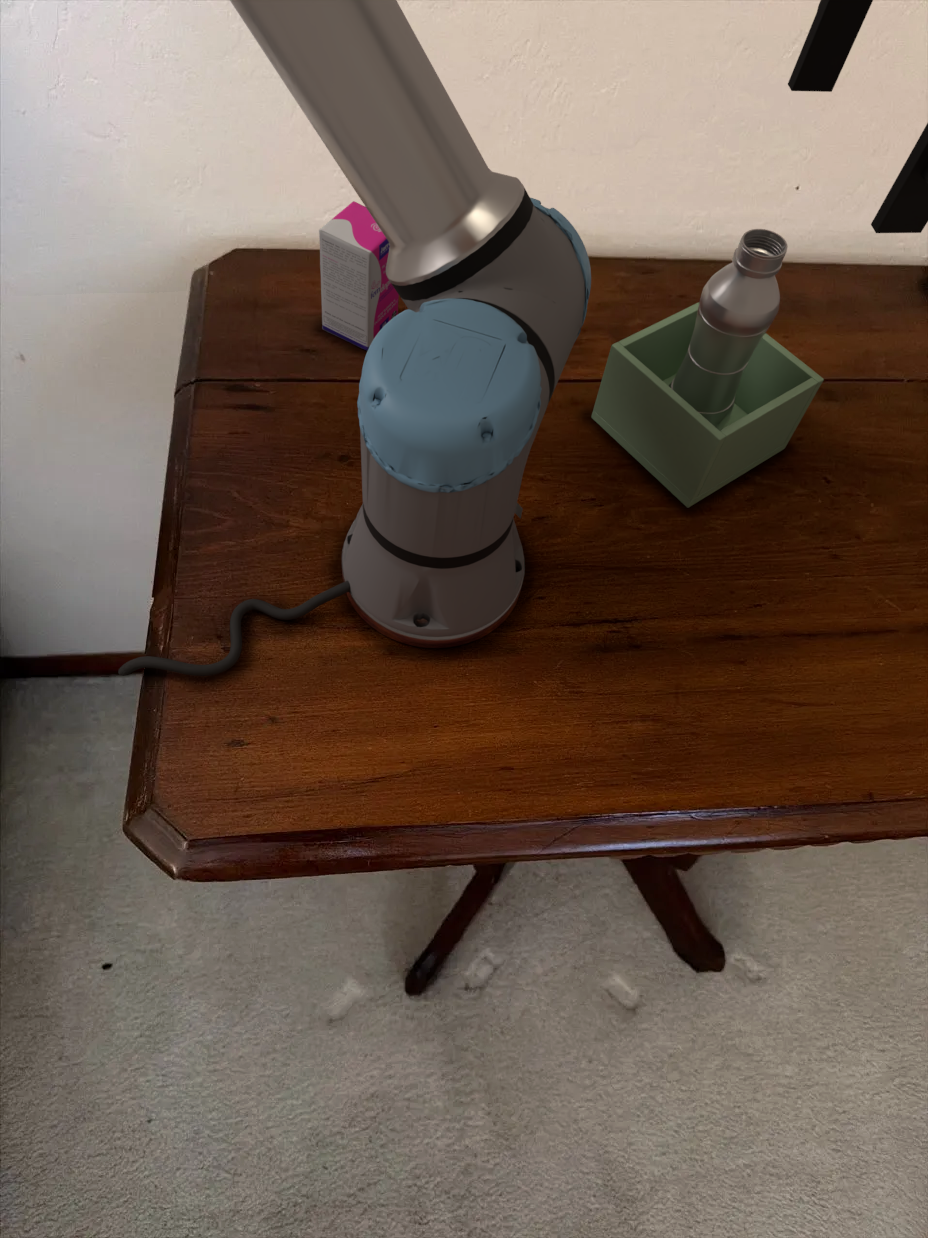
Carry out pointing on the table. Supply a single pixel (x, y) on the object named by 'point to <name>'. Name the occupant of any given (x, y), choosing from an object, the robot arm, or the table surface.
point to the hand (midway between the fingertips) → (849, 154)
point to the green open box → (680, 435)
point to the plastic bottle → (731, 325)
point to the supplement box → (355, 277)
